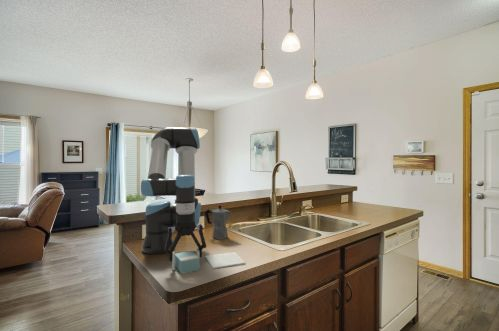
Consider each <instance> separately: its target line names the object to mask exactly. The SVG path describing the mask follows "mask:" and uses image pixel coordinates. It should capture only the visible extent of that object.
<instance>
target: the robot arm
mask: <svg viewBox="0 0 499 331" xmlns="http://www.w3.org/2000/svg"><path fill="white" fill-rule="evenodd" d="M200 144H201V143H200V136H199V130H198V129H197V128H195V127H189V126H188V127H177V126H176V127H175V126H173V127H172V126H171V127H170V126H169V127H164V128H162V129H160V130H159V131H158V132H156V133H155V134H154V135H153V136H152V140H151V142H150V148H151V149H152V150H151V155H150V161H149V166H148V167H149V169H148V173H147V178H143V179H142V180H141V182H140V193H141V196H143V197H164V196H165V197H166V196H168V197H169V196H171V197H172V196H175V200H174V203H172V202H171V201H170V200H161V201H155V202H151V203H149V204H147V205H145V206H146V207H145V214H144V215H145V236H144V240H143V242H142V245H141V252H142V253H144V254H147V255H158V254H159V255H160V254H164V253H165V254H168V261H169V262H171V270H172V271H175V269H176V267H175V254H176V253H175V249H176V247H177V245H178V243H179V240H180V239H181V238H182V237H186V236H187V237H188V236H191V238H192V239H193V241H194V243H195V245H196V247H197V248H196V250H195V251H196V252H195V254H196V255H197V256H198V257H199V258H202V257H203V254H202V253H203V249H207V244H206V239H205V236H204V232H203V228H204V227H203V225H202V224H201V223H200V218H201V217H200V216H201V211H202V210H201V209H202V208H201V207H202V203H201V202H199V199H198V198H197V197H196V177H195V176H196V175H195V174H196V172H195V170H196V168H195V162H196V161H195V154H196V153H197V152H198V150H199V149H200V148H201V147H200V146H201V145H200ZM170 149H175V150H174V151H175V152H176V154H178V155H177V156H178V157H177V158H178V164H177V166H178V167H177V168H178V169H177V171H178V173H177V176H175V178H167V177H166V175H167V163H168V153H169V152H168V151H170ZM195 229H196V230H198V234H199V237H200V238H199V239H200V242H201V244H200V242H199V240H198V238H197V237H196V235H195V233H194V231H195ZM174 232H177V233H176V236H175V237H174V238H173V233H174Z"/></svg>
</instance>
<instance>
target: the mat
mask: <svg viewBox="0 0 499 331" xmlns="http://www.w3.org/2000/svg"><path fill="white" fill-rule="evenodd" d="M205 259H206V260H207V262H208V263H209V266H210V267H211V268H212V269H213V270H216V269H221V268H229V267H234V266H235V267H236V266H240V265H241V266H242V265H246V261H244V260H243V258H241V257H240V255H238V254H237V253H236V252H235V251H233V252H232V251H231V252H224V253H218V254H209V255H205Z"/></svg>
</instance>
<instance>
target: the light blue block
mask: <svg viewBox="0 0 499 331" xmlns="http://www.w3.org/2000/svg"><path fill="white" fill-rule="evenodd" d="M174 254H175V269H177V271H178V272H179V273H180V274H181V275H182V274H186V273H191V272H195V271H199V270H200V268H201V267H200V266H201V265H200V258H201V257H200V258H199V257H198V256H197V255H196V252H193V250H188V251H182V252H177V253H174Z"/></svg>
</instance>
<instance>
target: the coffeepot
mask: <svg viewBox="0 0 499 331" xmlns="http://www.w3.org/2000/svg"><path fill="white" fill-rule="evenodd" d="M231 213H232V211H231V210H228V209H224V208H222V205H218V208H217V209H209V208H208V209H206V211H205V212H204V216H205V218H206V221H207V224H210V225H211V224H212V221H213V228H212V234H211V237H212V239H215V240H224V239H226V238H228V236H229V235H228V231H227V230H228V229H227V224H226V223H227V219H228V217H229V216H230V214H231ZM209 214H211V215H212V219H213V220H212V221H210V216H209Z"/></svg>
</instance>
